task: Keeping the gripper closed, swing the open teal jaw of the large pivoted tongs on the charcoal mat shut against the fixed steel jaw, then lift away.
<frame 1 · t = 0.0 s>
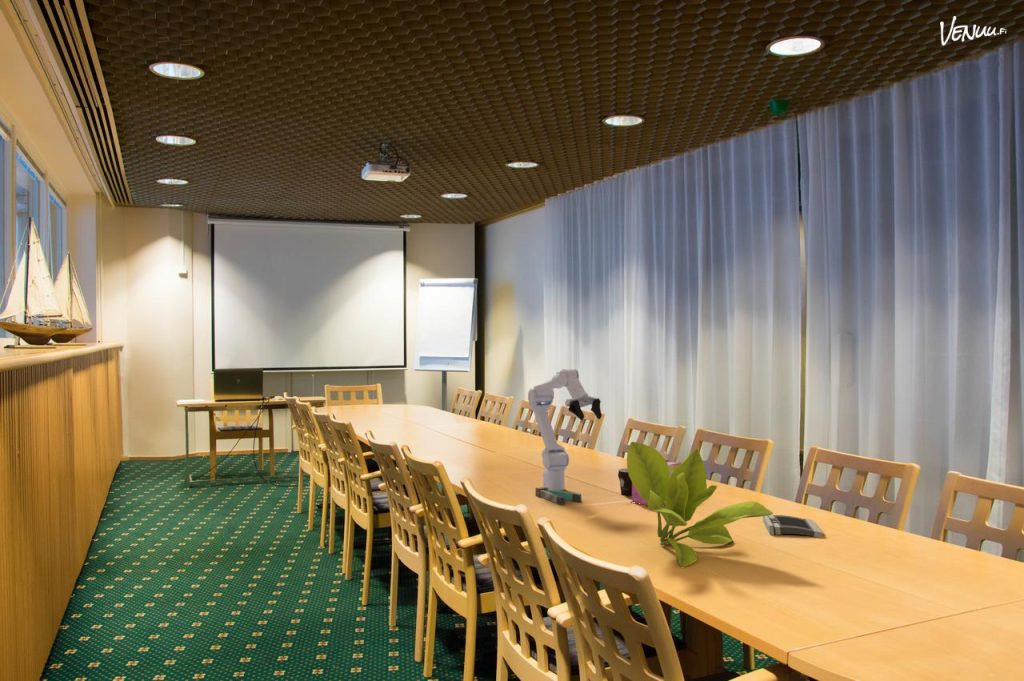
hand: (591, 418, 283), 32 cm above the table, tool tilted 50°, fingers open, 7 cm apart
gum box: (657, 500, 290), on the table
tongs base: (547, 496, 293), on the table
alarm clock: (792, 531, 245), on the table
mat: (564, 500, 289), on the table
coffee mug: (628, 495, 299), on the table
artificial plant: (686, 550, 222), on the table
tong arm: (564, 495, 288), point 2 cm above the table, hinge at 25.0°
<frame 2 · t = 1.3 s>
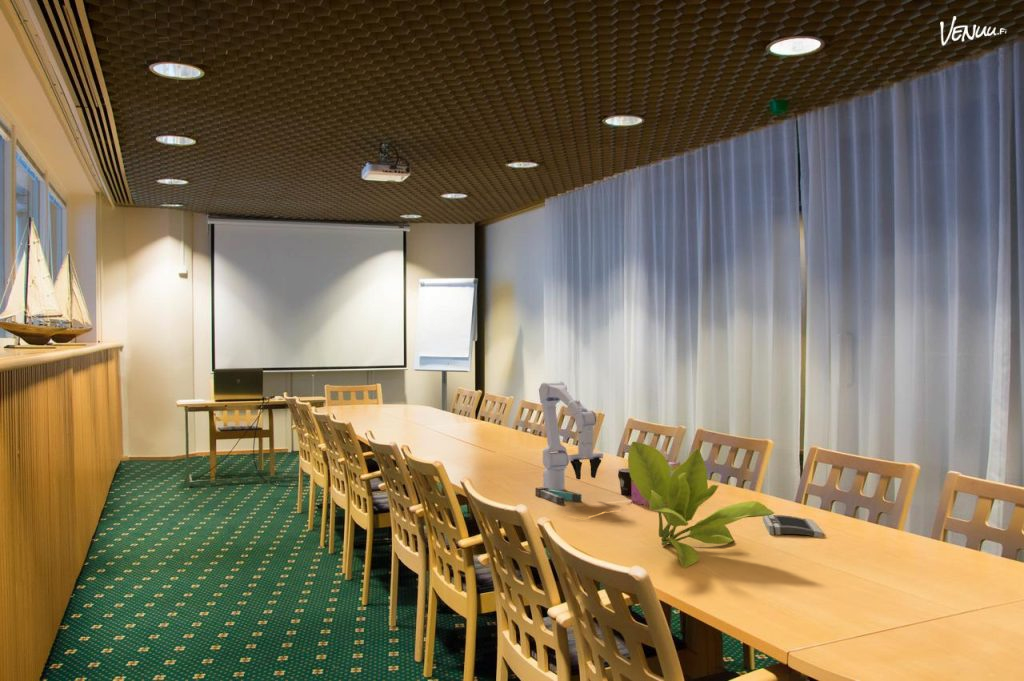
hand: (585, 478, 289), 8 cm above the table, tool pointing down, fingers open, 6 cm apart
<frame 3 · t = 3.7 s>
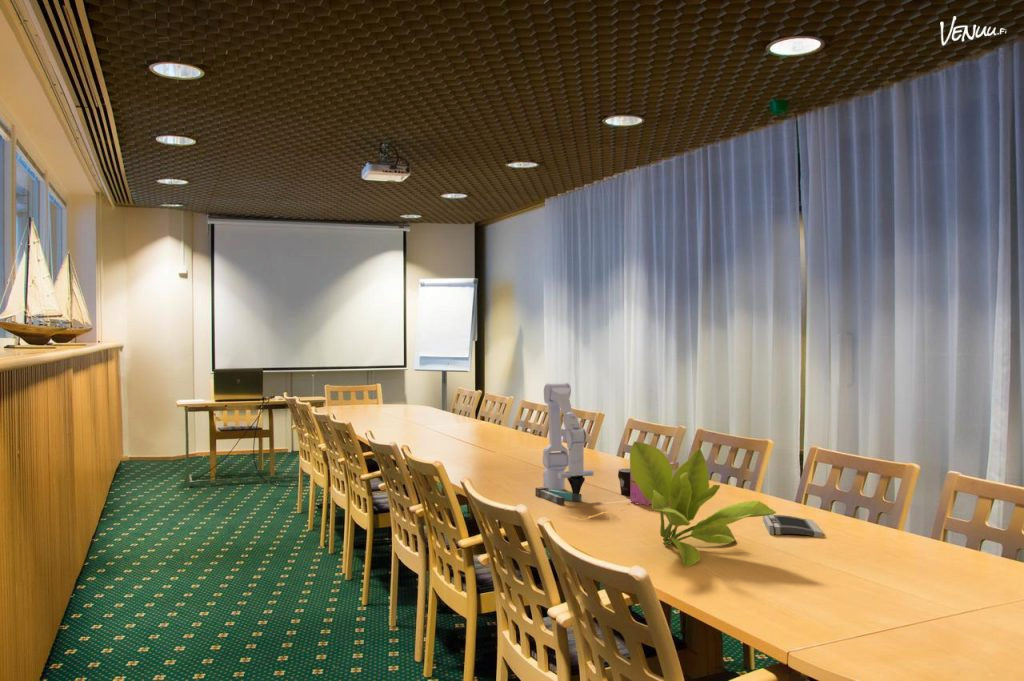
hand: (576, 496, 288), 2 cm above the table, tool pointing down, fingers closed, pressing on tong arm
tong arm: (564, 495, 288), point 2 cm above the table, hinge at 25.0°, touching gripper
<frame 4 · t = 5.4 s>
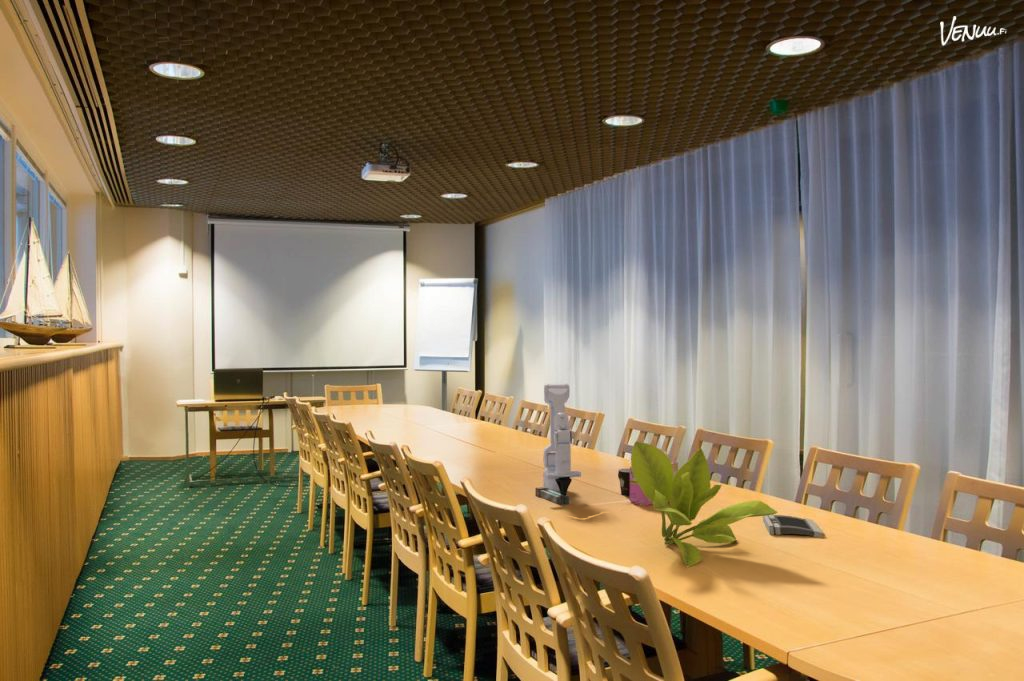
hand: (563, 497, 285), 2 cm above the table, tool pointing down, fingers closed
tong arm: (557, 496, 286), point 2 cm above the table, hinge at 0.2°, touching gripper
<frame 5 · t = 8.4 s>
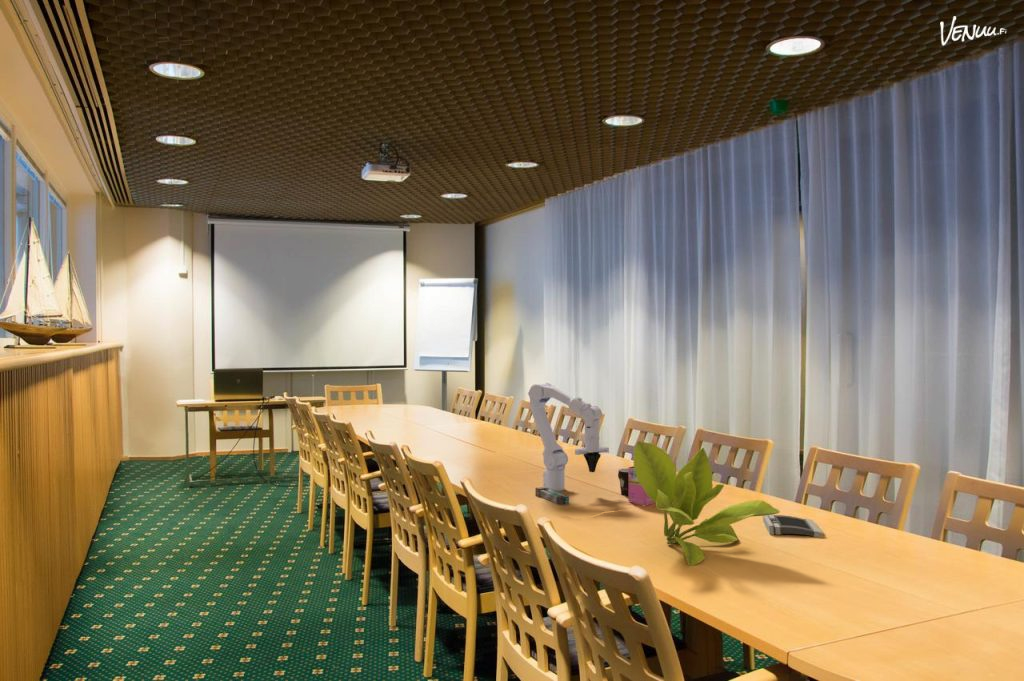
hand: (592, 471, 298), 9 cm above the table, tool pointing down, fingers closed
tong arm: (557, 496, 286), point 2 cm above the table, hinge at 0.2°
at the end: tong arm at +0° (first picture: +25°); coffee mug moved 0.2 cm from its start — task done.
